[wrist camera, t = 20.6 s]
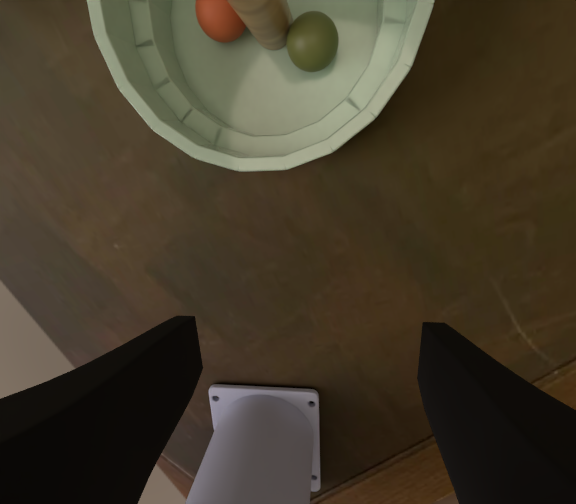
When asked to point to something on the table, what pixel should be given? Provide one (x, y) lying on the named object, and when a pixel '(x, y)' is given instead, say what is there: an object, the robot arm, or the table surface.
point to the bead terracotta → (219, 20)
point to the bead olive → (312, 41)
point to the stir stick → (265, 20)
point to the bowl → (256, 78)
